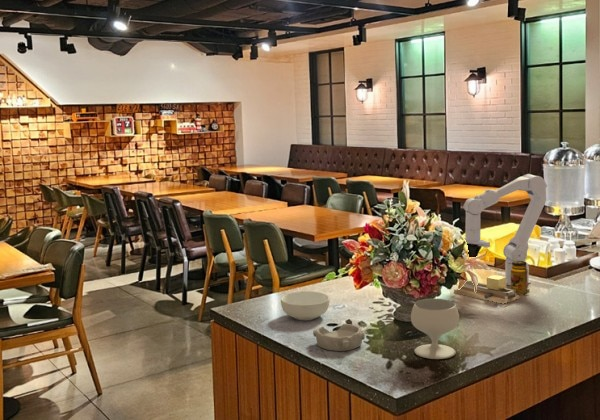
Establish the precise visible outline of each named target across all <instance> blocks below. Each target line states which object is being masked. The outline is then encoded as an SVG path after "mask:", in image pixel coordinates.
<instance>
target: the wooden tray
mask: <svg viewBox="0 0 600 420" xmlns="http://www.w3.org/2000/svg"><path fill="white" fill-rule="evenodd" d="M467 280H468V279H467ZM472 281H473V280H468V281H467V282H466V283H465V284H464V286H463V287H462V288H461V289H460V290H458V288H455V289H453V293H454V294H459V295H462V296H467V297H470V298H471V297H472V298H474V299H475V298H476V299H480V300H484V301H487V300H489V301H488V302H492V301H493V302H492V303H496V302H497V303H496V304H500V303H502V304H501V305H505V304H504V303H506V304H508V303H511V302H514V301H516V300H515V299H517V300H519V299H520V295H516V290H511V289H510V288H507V287H506V288H504V289H503V291H498V290H494V289H490V288H487V283H481V282H478V285H477V292H476V293H475V292H474V285H473V283H472ZM518 298H519V299H518ZM513 300H514V301H513ZM510 301H511V302H510ZM507 302H508V303H507Z"/></svg>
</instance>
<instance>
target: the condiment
mask: <svg viewBox="0 0 600 420" xmlns="http://www.w3.org/2000/svg"><path fill="white" fill-rule="evenodd" d="M526 262H527V261H526ZM526 262H524V261H513V262H512V269H511V285H510V288H511V290H516V294H525V295H524V296H529V295H530V290H531V289H530V288H528V284H527V268H526V267H527V266H526V264H528V262H527V263H526Z"/></svg>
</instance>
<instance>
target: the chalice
mask: <svg viewBox="0 0 600 420" xmlns="http://www.w3.org/2000/svg"><path fill="white" fill-rule="evenodd" d="M410 321H411V325H413V327H414V328H415V329H417V330H418V331H420V332H422V333H424V334H425V335H427V336H428V337H429V338H430V340H431V343H429V344H428V343H427V344H422V345H419V346H417V347H415V348H414V352H413V353H414V354H416V356H419V357H421V358H424V359H425V358H426V359H429V360H443V359H450V358H452V357H454V356H455V355H456V354H457V352H456V350H455V349H454V348H453V347H451V346H449V345H444V344H439V339H440V338H441V337H442V336H444V335H446V334H447V333H450V332H451V331H453V330H455V329H457V327H458V325H459V323H460V314H459V310H458V307H457V305H456V304H455V303H454V301H451V300H450V299H445V298H444V299H443V298H423V299H419V300H417V301H415V302H414V304H413V307H412V309H411V313H410Z"/></svg>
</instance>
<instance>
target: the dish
mask: <svg viewBox="0 0 600 420" xmlns="http://www.w3.org/2000/svg"><path fill="white" fill-rule="evenodd" d="M312 334H313V337H315V339H316V344H317V346H318V347H320V348H321V349H324V350H327V351H335V352H336V351H339V352H344V351H345V352H346V351H350V350H351V351H352V350H354V349H356V348H358V347H360V346H361V345H362V342H363V340H365V338H366V335H365V334H366V333H365V332H364V331H362V330H361V327H359V326H357V325H355V324H351V323H350V324H349V323H343V324H341V326H340V327H339V329H337V330H335V331H330V330H328V329H326V328H325V326H323V325H322V326H319V327H317V328H315V329H313V331H312Z"/></svg>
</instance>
